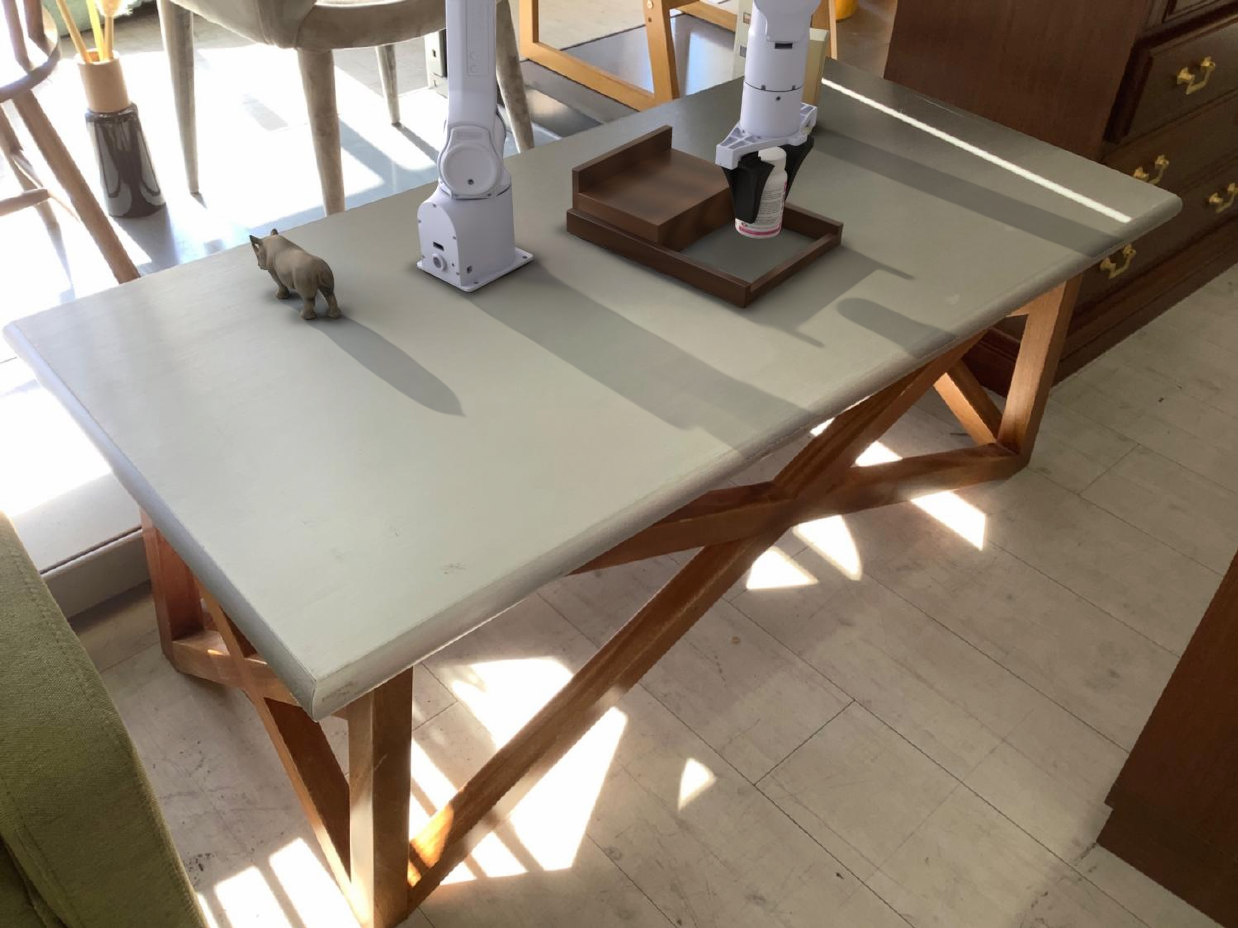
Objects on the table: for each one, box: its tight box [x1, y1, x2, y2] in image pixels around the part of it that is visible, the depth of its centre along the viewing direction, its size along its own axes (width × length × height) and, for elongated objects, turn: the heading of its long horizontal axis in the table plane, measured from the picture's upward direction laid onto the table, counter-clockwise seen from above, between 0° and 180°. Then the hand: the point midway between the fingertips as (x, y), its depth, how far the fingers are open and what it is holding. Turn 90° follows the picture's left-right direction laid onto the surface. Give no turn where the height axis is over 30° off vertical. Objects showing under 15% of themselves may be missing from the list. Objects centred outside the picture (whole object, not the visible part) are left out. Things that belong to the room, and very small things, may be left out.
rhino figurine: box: [248, 227, 342, 320], centre depth 108 cm, size 4×14×6 cm, turn 43°
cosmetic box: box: [802, 27, 831, 136], centre depth 141 cm, size 6×4×12 cm
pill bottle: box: [734, 147, 787, 240], centre depth 113 cm, size 5×5×8 cm
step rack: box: [565, 124, 844, 309], centre depth 119 cm, size 18×24×7 cm
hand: (759, 211), depth 114 cm, fingers closed on pill bottle, 5 cm apart
